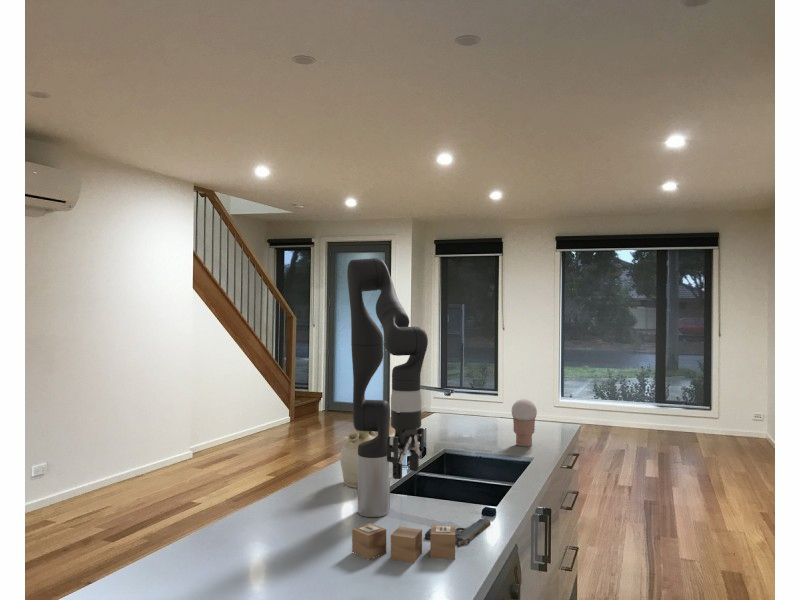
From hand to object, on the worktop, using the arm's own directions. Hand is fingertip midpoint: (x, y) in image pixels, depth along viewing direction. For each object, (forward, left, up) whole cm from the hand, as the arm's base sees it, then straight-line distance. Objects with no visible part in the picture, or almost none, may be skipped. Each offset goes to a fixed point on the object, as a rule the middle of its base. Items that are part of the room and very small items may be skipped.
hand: (405, 474), depth 150 cm
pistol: (-22, +4, -21) cm, 30 cm away
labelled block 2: (-6, +7, -20) cm, 22 cm away
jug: (-45, -43, -20) cm, 65 cm away
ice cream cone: (-128, -14, -20) cm, 131 cm away
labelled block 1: (+3, -9, -20) cm, 22 cm away
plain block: (0, 0, -20) cm, 20 cm away
